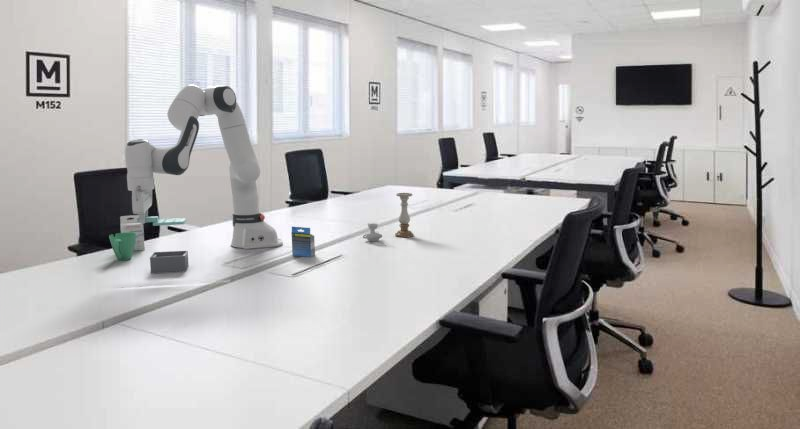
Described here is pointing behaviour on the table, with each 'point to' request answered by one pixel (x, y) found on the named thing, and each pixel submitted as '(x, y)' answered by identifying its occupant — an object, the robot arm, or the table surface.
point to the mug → (123, 245)
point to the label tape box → (302, 242)
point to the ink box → (133, 230)
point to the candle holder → (404, 216)
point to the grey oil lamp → (372, 233)
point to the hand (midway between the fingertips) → (143, 222)
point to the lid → (163, 221)
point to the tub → (169, 262)
